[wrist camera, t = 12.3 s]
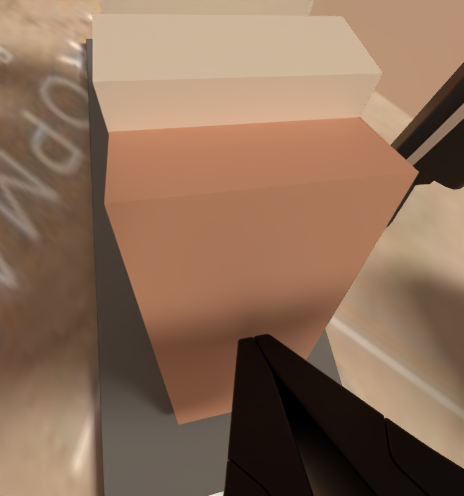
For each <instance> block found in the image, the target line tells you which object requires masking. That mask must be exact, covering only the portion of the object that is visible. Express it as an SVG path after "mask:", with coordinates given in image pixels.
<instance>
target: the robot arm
mask: <svg viewBox="0 0 464 496" xmlns="http://www.w3.org/2000/svg"><path fill="white" fill-rule="evenodd" d="M227 460H228V462H227V465H226V477H225V487H224V495H223V496H464V469H463V468H462V467H460V466H459V465H457V464H455V463H454V462H452V461H451V460H449V459H447V458H446V457H444V456H443V455H441V454H440V453H438V452H436V451H435V450H433V449H432V448H430V447H429V446H427V445H426V444H424V443H423V442H421V441H420V440H418V439H417V438H415V437H414V436H412V435H411V434H410V433H408V432H407V431H405V430H404V429H402V428H401V427H399V426H398V425H397V424H395V423H394V422H392V421H391V420H390V419H388V418H385V419H384V416H383V415H382V414H381V413H380V412H378V411H377V410H375V409H374V408H373V407H371V406H370V405H368V404H367V403H365V402H364V401H363V400H361V399H360V398H358V397H357V396H356V395H354V394H353V393H351V392H350V391H349V390H347V389H346V388H344V387H343V386H342V385H340V384H339V383H337V382H336V381H335V380H333V379H332V378H330V377H329V376H328V375H326V374H325V373H323V372H322V371H321V370H319V369H318V368H316V367H315V366H313V365H312V364H311V363H309V362H308V361H306V360H305V359H304V358H302V357H301V356H299V355H298V354H297V353H295V352H294V351H292V350H291V349H290V348H288V347H287V346H285V345H284V344H283V343H281V342H280V341H278V340H277V339H276V338H274V337H273V336H271V335H270V334H262V335H257V336H255V337H254V338H253V337H247V338H241V339H239V340H238V344H237V355H236V366H235V378H234V389H233V400H232V411H231V423H230V434H229V445H228V457H227Z"/></svg>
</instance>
